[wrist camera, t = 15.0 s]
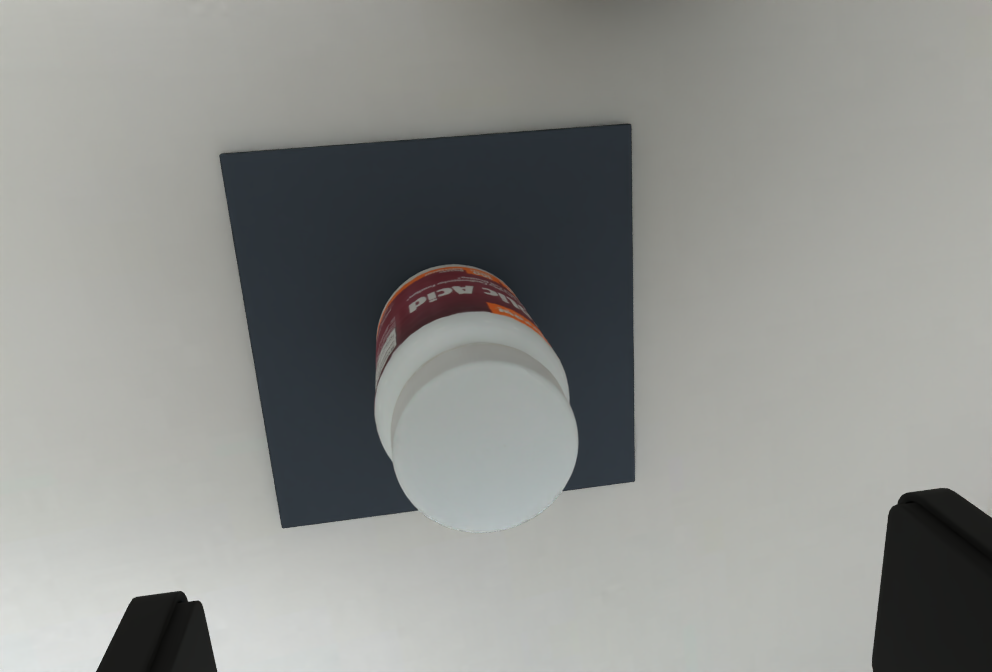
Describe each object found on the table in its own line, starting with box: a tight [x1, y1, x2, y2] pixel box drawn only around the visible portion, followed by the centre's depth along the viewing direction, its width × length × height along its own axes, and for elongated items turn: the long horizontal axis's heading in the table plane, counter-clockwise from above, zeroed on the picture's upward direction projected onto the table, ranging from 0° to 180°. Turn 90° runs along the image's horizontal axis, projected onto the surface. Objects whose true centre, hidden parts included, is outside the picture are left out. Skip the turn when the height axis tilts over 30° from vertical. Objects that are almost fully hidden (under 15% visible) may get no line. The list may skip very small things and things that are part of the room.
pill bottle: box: [374, 264, 578, 533], centre depth 20 cm, size 5×5×8 cm
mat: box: [219, 124, 635, 528], centre depth 24 cm, size 12×12×1 cm
